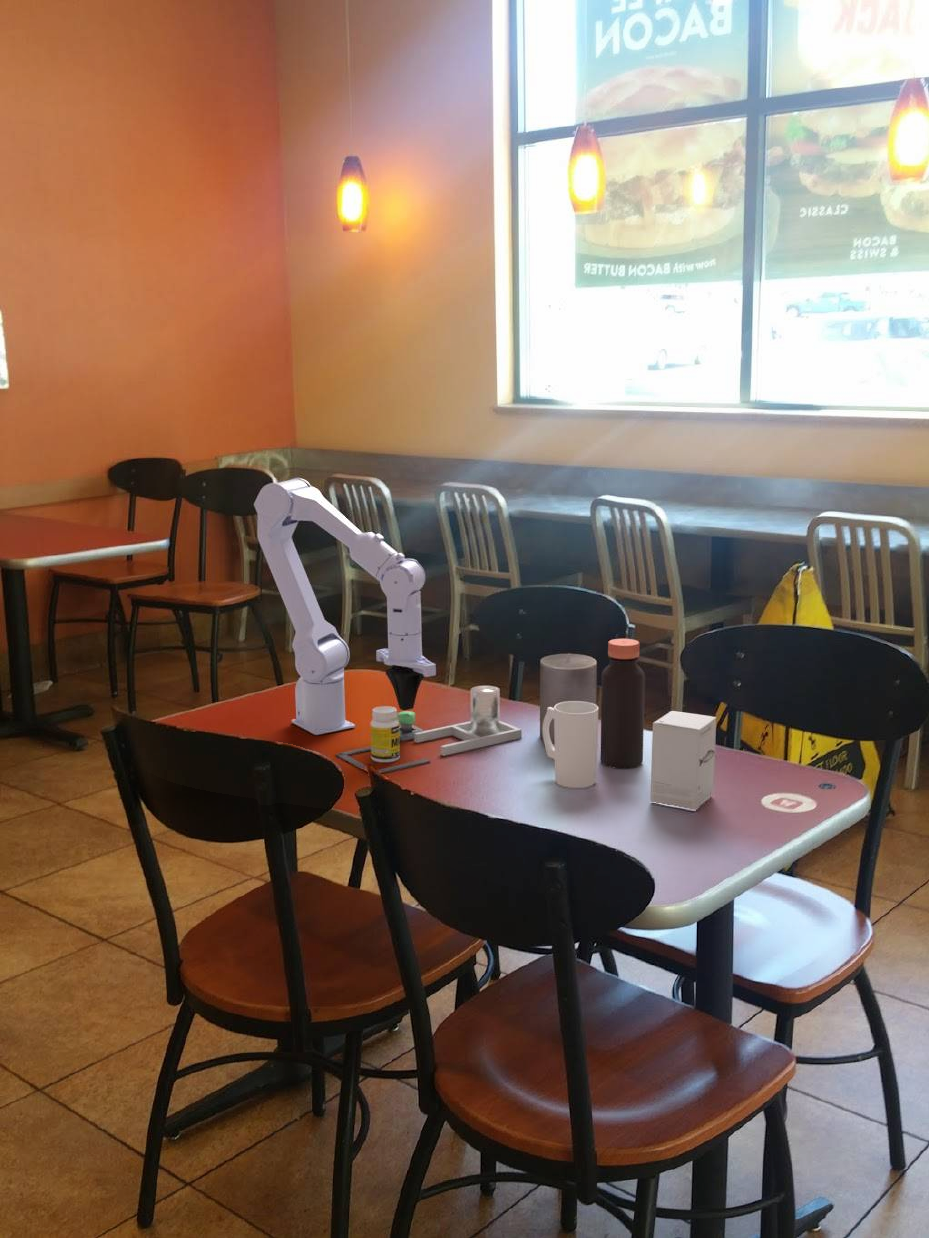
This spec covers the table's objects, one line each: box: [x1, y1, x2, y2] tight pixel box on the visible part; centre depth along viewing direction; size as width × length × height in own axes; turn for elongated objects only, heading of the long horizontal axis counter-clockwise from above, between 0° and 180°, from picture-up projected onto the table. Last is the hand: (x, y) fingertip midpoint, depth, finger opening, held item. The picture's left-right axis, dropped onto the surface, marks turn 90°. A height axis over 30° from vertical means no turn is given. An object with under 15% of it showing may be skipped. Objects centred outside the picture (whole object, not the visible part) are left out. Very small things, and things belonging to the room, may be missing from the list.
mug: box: [542, 701, 600, 789], centre depth 191 cm, size 10×7×12 cm, turn 45°
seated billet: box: [470, 685, 501, 737], centre depth 212 cm, size 5×5×8 cm
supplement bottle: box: [369, 705, 401, 763], centre depth 201 cm, size 5×5×8 cm
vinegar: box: [600, 638, 646, 769], centre depth 197 cm, size 7×7×20 cm
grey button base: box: [399, 724, 425, 742], centre depth 213 cm, size 4×4×1 cm
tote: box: [335, 745, 431, 774], centre depth 202 cm, size 12×11×1 cm
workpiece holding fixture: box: [413, 720, 522, 757], centre depth 211 cm, size 9×16×2 cm, turn 124°
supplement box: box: [649, 710, 717, 809], centre depth 181 cm, size 7×7×13 cm
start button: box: [397, 710, 416, 731], centre depth 213 cm, size 3×3×3 cm
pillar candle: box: [539, 652, 598, 746], centre depth 210 cm, size 10×10×15 cm
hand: (406, 708), depth 212 cm, fingers closed
